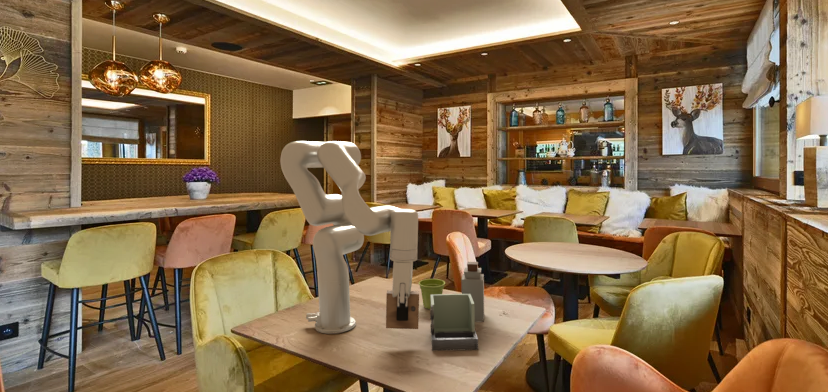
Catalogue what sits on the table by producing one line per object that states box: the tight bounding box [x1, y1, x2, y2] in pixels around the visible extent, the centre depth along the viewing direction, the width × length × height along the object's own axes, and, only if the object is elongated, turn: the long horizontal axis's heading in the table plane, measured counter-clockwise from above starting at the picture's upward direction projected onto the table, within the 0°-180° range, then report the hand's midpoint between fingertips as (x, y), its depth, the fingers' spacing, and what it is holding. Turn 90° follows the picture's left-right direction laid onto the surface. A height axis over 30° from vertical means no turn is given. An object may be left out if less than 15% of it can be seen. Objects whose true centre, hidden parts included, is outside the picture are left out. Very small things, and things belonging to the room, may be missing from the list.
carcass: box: [431, 293, 476, 333], centre depth 120 cm, size 12×9×11 cm
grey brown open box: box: [429, 306, 479, 352], centre depth 114 cm, size 13×6×11 cm, turn 89°
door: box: [385, 290, 420, 330], centre depth 115 cm, size 9×3×10 cm, turn 89°
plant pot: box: [418, 278, 446, 310], centre depth 145 cm, size 9×9×9 cm
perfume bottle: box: [460, 261, 485, 323], centre depth 134 cm, size 7×7×18 cm
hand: (402, 317), depth 116 cm, fingers closed on door, 2 cm apart
